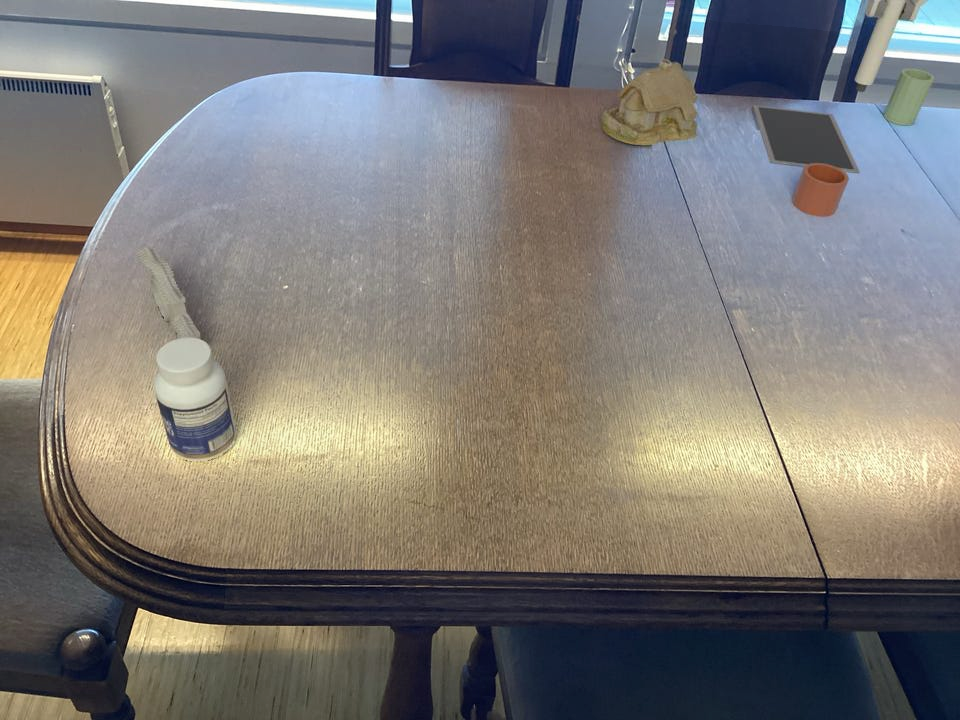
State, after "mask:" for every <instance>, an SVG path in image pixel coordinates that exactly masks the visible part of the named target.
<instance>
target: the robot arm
mask: <svg viewBox="0 0 960 720" xmlns="http://www.w3.org/2000/svg"><path fill="white" fill-rule="evenodd" d="M928 1H929V0H906V2H905V4H904V7H903V9H902V12H901V14H900V17H899V19H898V21H903V22H913V23H914V22H915V20H916V19H917V16H918V13H919V11H920V8H921V7H922V6H924V5H925V4H926V3H927V2H928ZM887 4H888V1H887V0H868V1H867V4H866V6H865V10H864V14H865V16H866V17H868V18H875V19H876V18H877V19H878V18H882V17H883V15H884V10H885V9H886V7H887Z"/></svg>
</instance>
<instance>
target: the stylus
mask: <svg viewBox="0 0 960 720" xmlns="http://www.w3.org/2000/svg"><path fill="white" fill-rule="evenodd" d="M887 1H888V4H887V7H886V9H885V10H884V15H883V17H882V18H877V20H876V23H875V25H874V28H873V31H872V32H871V35H870V38H869V41H868V43H867V46H866V49H865V51H864V54H863V56H862V59H861V61H860V64H859V67H858V70H857V72H856V75H855V76H854V81H855V83H857V84H856V88H855V90H856V91H857V92H860V93H864V92H865V91H866V89H867V87H868V86H872V85H873V84H874V82H875V79H876V76H877V74H878V72H879V69H880V67H881V64H882V62H883V59H884V57H885V54H886V52H887V49H888V47H889V44H890V42H891V40H892V37H893V35H894V32H895V29H896V27H897V24H898V23H899V17H900V14H901V12H902V9H903V7H904V4H905V2H906V0H887Z"/></svg>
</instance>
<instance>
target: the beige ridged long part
mask: <svg viewBox="0 0 960 720" xmlns="http://www.w3.org/2000/svg"><path fill="white" fill-rule="evenodd" d="M137 255H138V257H139V259H140V261H141V262H142V264H143V266H144V267H145V270H146V274H147V278H148V283H149V286H150V290H152V291H151V293H152V292H153V293H152V295H153V298H154V302H155V305H156V306H158V307H159V309H160V307H164V310H165V314H166V318H165V320H166V321H165V320H164V321H165V322H166V323H168V322H169V321H170V323H171V324H172V326H173V327H174V329H175V331H176V333H177V335H176V337H177V338H176V339H179V338H185V337H191V338H198V339H201V332H200V331H199V330H198V328H197V326H195V324H194V321H193V319H192V318H191V316H190V315H189V313H187V308H186V304H185V303H186V297H185V296H184V294H183V292H181V290H180V287H179V286H178V284H177V281H175V278H174V276H175V274H174V271H173V270H172V268H171V265H170V264H169V262H168V261H165V260H163V259H162V258H161V257H160V254H158V252H157V250H156V248H155V247H150V246H148V245H146V246H144V247H143V249H141V250H140V251H138V252H137ZM158 307H157V308H158ZM159 309H158V310H159ZM167 321H168V322H167ZM170 323H169V324H170ZM171 324H170V325H171ZM172 326H171V327H172ZM175 331H174V332H175ZM176 333H175V334H176ZM201 340H202V339H201Z"/></svg>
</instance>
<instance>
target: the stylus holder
mask: <svg viewBox="0 0 960 720" xmlns="http://www.w3.org/2000/svg"><path fill="white" fill-rule="evenodd" d="M849 181H850V178H849V175H848V173H847V172H844V171H843V170H841V169H839V168H837V167H835V166H832V165H828V164H823V163H811V164H808V165H806V166H805V167H803V169H802V171H801V174H800V177H799V179H798V183H797V185H796V187H795V191H794V193H793V195H792V198H791V203H792V205H793V206H794V207H795V208H796V209H797V210H799V211H800V212H802V213H804V214H807V215H808V216H809V215H810V216H814V217H821V218H825V217H830V216H833V215H834V214H835V213H836V212H837V209H838V207H839V204H840V203H841V200H842V197H843V195H844V193H845V190H846V188H847V185H848V183H849Z"/></svg>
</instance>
